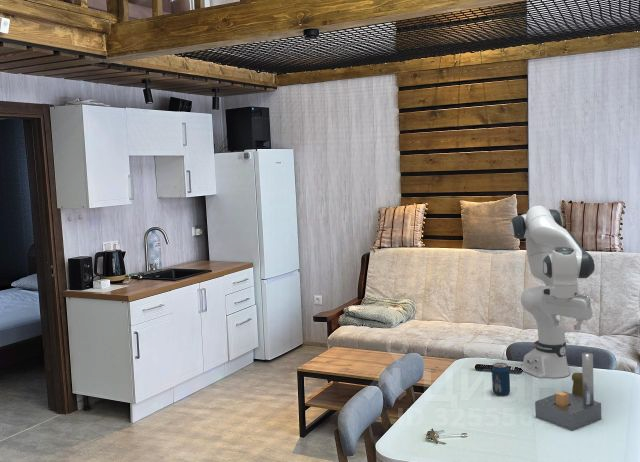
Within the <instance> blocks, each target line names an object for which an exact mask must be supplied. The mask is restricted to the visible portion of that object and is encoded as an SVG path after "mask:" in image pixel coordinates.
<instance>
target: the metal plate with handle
mask: <svg viewBox="0 0 640 462" xmlns="http://www.w3.org/2000/svg"><path fill="white" fill-rule="evenodd" d="M581 367H582V368H581V369H582V370H581V371H582V372H581V373H582V375H583V397H580V396H577V395H574V394H572V392H571V393H570V392H567V391H564V390H563V391H562V392H564V393H567V394H568V405H569V406H566V407H564V408H563V407H560V406H557V405H556V393H555V394H552V395H550V396H547V397H544V398H541V399H539V400H535V402H534V407H535V408H534V409H535V412H534V413H535V418H537V419H539V420H542V421H545V422H548V423H551V424H553V425H556V426H558V427H561V428H563V429H564V428H565V429H567V430H570V431H571V432H573V431H575V430H578V429H580V428H583V427H586V426H588V425H590V424H593V423H595V422H599V421H600V420H602V403H601V402H599V401H596V400H595V397H594V396H595V393H594V392H595V391H594V390H595V389H594V386H595V385H594V353H591V352H582V353H581Z"/></svg>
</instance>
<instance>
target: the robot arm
mask: <svg viewBox="0 0 640 462" xmlns="http://www.w3.org/2000/svg"><path fill="white" fill-rule="evenodd" d="M509 223H510V224H509V229H510V232H511V234H512V236H513V237H514V238H515V239H517V240H524V239H525V248H526V249H525V250H526V256H527V259H528V260H527V261H528V265H529V266H528V267H529V270H530V273H531V275H532V276H533V277H534V278H535V279H537V280H540V281H542V282H543V283H544V285H541V286H539V285H538V286H533V287H529V288H526V289H524V290H523V291H522V293H521V295H520V303H521V305H522V308H523V309H524V310H525V311H526V312H528V313H529V314H531V315H532V317H533V318H534V320H535V323H536V326H537V336H538V337H537V339H538V340H536V341H533V344H532V345H535V346H534V347H535V348H533V349H532V350H530V351H529V352H527V353H526V354H525V355H524V357H523V361H522V362H523V363H521V364H519V365H518V367H517V369H518V368H521V369H522V370H523V372H525V373H526V374H530V375H532V376H534V377H536V378H539V379H540V378H541V379H542V378H543V379H545V378H551V379H555V378H556V379H557V378H560V379H561V378H564V377H568V376H569V375H570V374H571V372H570V369H569V365H568V360H567V359H568V358H567V342H566V336H565V335H566V330H565V329H566V328H565V324H564V323H563V322H562V321H561V320H560V319H558V318H557V316H561V317H565V318H566V317H567V318H570V319H576V324H574V325H573V329H574V330H575V331H581V326H582V324H583V322H584V321H588V320H590V319H592V317H593V311H592V304H591V303H592V302H591V298H590V297H589V296H588V295H587V294H586V293H584V294H583V293H580V291H579V281H578V279H588V278H589V277H590V276H591V275H592V274H593V273H594V272H595V265H596V264H595V261H594V259H593V257H592V255H591V254H590V253H589V252H587V251H586V249H584V247H582V245H581V244H580V243H579V241H578V240H577V239H576V237H575V236H574V235H573V234H572V232H571V231H570V230H568V229H566V228H564V227H563V223H564V222H563V217H562V215H561V212H560V211H559V210H557V209H550V208H549V209H547V207H545V206H543V205H534V206H532V207H530V208H529V209H528V210H527V212H526V213H524V214H521V215H520V214H519V215H516V216H513V217H512V218H511V220H510V222H509ZM552 247H555V248H554V249H553V248H552ZM522 370H521V371H522Z"/></svg>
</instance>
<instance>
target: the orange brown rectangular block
mask: <svg viewBox="0 0 640 462" xmlns="http://www.w3.org/2000/svg"><path fill="white" fill-rule="evenodd" d="M564 392H565V391H564ZM564 392H563V391H558V392H555V394H556V405H557V406H560V407H563V408H564V407H566V406H569V405H568V394H567V393H568V392H567V393H564Z"/></svg>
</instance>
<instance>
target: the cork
mask: <svg viewBox="0 0 640 462" xmlns="http://www.w3.org/2000/svg"><path fill="white" fill-rule="evenodd" d="M571 380H572V390H571V394H574V395H577V396H580V397H583V375H582V372H573V373H572V374H571Z"/></svg>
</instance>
